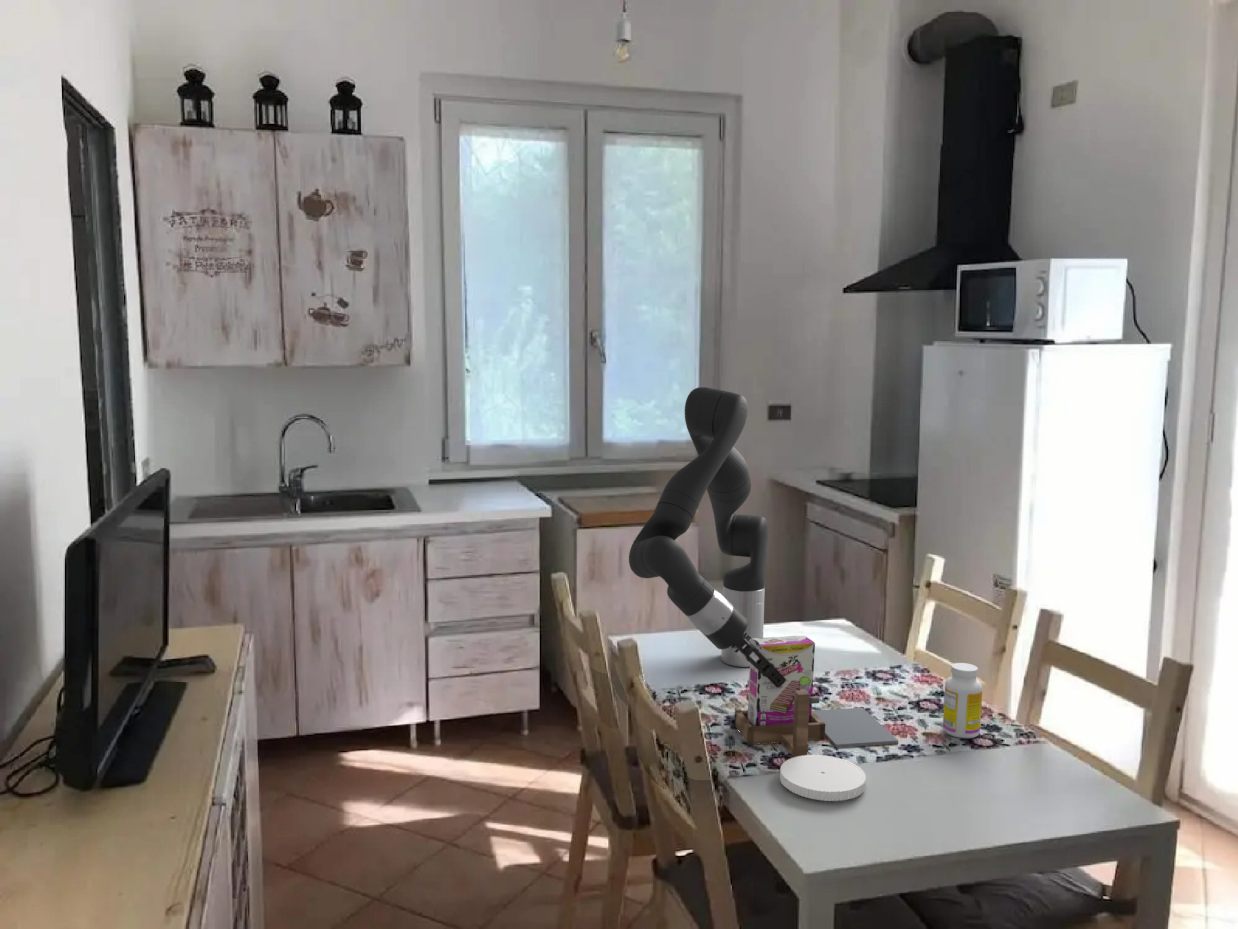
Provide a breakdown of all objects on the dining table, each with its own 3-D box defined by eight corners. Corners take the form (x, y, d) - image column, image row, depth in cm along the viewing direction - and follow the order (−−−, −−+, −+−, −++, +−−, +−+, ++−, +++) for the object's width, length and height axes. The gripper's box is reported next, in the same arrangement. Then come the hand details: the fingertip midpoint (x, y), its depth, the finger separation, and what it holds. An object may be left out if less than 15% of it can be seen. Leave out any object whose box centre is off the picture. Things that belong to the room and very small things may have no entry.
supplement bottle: (981, 729, 197) (985, 664, 195) (977, 742, 191) (982, 675, 189) (944, 723, 199) (948, 658, 197) (939, 735, 193) (943, 669, 192)
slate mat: (804, 714, 203) (804, 711, 203) (862, 710, 205) (862, 707, 205) (835, 747, 187) (836, 744, 187) (898, 743, 190) (898, 740, 189)
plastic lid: (799, 761, 182) (800, 748, 182) (877, 782, 175) (878, 768, 174) (765, 792, 170) (766, 777, 170) (847, 815, 163) (848, 800, 163)
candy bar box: (757, 733, 190) (759, 645, 188) (746, 723, 195) (748, 638, 192) (813, 727, 193) (816, 641, 191) (801, 717, 197) (804, 634, 195)
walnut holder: (723, 710, 204) (725, 652, 202) (794, 706, 207) (796, 648, 205) (761, 762, 181) (763, 696, 179) (840, 757, 183) (843, 692, 182)
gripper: (742, 615, 181) (804, 677, 185) (719, 592, 195) (778, 651, 199) (712, 645, 181) (775, 707, 185) (691, 620, 195) (750, 678, 199)
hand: (776, 677), depth 192 cm, fingers closed on candy bar box, 5 cm apart
